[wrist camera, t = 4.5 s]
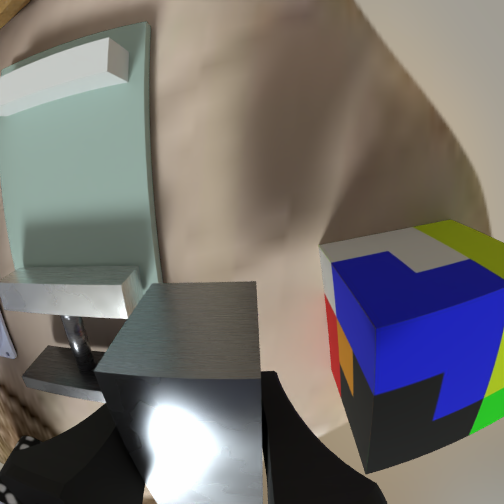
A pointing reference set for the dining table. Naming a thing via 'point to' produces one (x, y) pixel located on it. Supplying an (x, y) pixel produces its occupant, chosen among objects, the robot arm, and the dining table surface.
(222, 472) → the steel block
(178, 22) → the dining table surface
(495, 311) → the puzzle toy
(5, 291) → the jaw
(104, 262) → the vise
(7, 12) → the potato
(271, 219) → the dining table surface
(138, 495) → the robot arm
